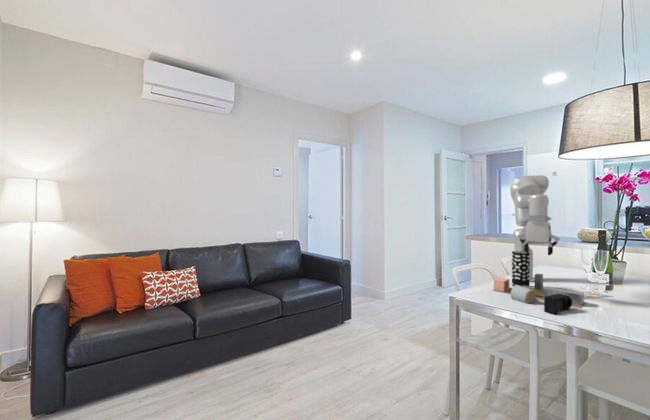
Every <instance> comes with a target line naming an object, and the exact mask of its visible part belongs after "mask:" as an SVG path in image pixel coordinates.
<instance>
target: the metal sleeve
mask: <svg viewBox="0 0 650 420" xmlns="http://www.w3.org/2000/svg"><path fill="white" fill-rule="evenodd" d="M555 294H563V295H567V296H569V298H571V299H572V304H573V305H578V306H583V304H584V302H585V292H581V291H575V290H568V289H563V288H557V287H550V286H545V287H544V288H543V299H544V297H545V296H550V295H555ZM583 307H584V306H583Z"/></svg>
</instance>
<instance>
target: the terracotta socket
mask: <svg viewBox="0 0 650 420" xmlns="http://www.w3.org/2000/svg"><path fill="white" fill-rule="evenodd" d="M509 288H510V278H507V277H500V276H499V277H497V278H494V279H493V290H498V291H503V292H504V291H506V290H508V289H509Z"/></svg>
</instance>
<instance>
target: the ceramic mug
mask: <svg viewBox="0 0 650 420" xmlns="http://www.w3.org/2000/svg"><path fill="white" fill-rule="evenodd" d="M510 297H511V299H512V300H514V301H517V302H520V303H523V304H534V303H535V302H537V301H538V300H537V299H536V294H535V292H534V291H532V290H530V289H528V288H525V287H522V286H519V285H516V286H512V290H511V294H510Z"/></svg>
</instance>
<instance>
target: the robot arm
mask: <svg viewBox="0 0 650 420" xmlns="http://www.w3.org/2000/svg"><path fill="white" fill-rule="evenodd" d="M549 186H550V180H549V178H548V177H547V176H546V175H542V174H541V175H539V174H538V175H524V176H522V177H521V178H520V179H519V180H518V183H517V182H516V183H513V184H512V185H511V186H510V189H509V191H510V197H511V199H512V202H513V204H514V217H515V218H514V219H515V220H514V221H515V224H516V225H517V226H519V227H525V228H516V229H514V231H513V232H512V239H513V245H514V251H523V252H525V253H528V252H529V253H530V275H529V283H531V282H535V276H534V251H533V250H532V248H531V247H530V245H535V246H536V245H541V246H543V245H546V244H547V255H548V256H551V255H552V254H553V253H554V246H556V245H557V244H558V243H559V241H560V240H561V239H560V237H559V236H556V235H554V234H552V228H551V227H552V226H551V222H549V221H551V220H552V217H550V216H548V215H549V213H548V211H549V210H548V209H549V208H548V207H549V205H550V204H549V203H550V201H549V197H548V195H547V194H545V193H546V191H547V190H548V188H549ZM552 239H553V240H554V241H553V242H552ZM533 276H534V277H533Z"/></svg>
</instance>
